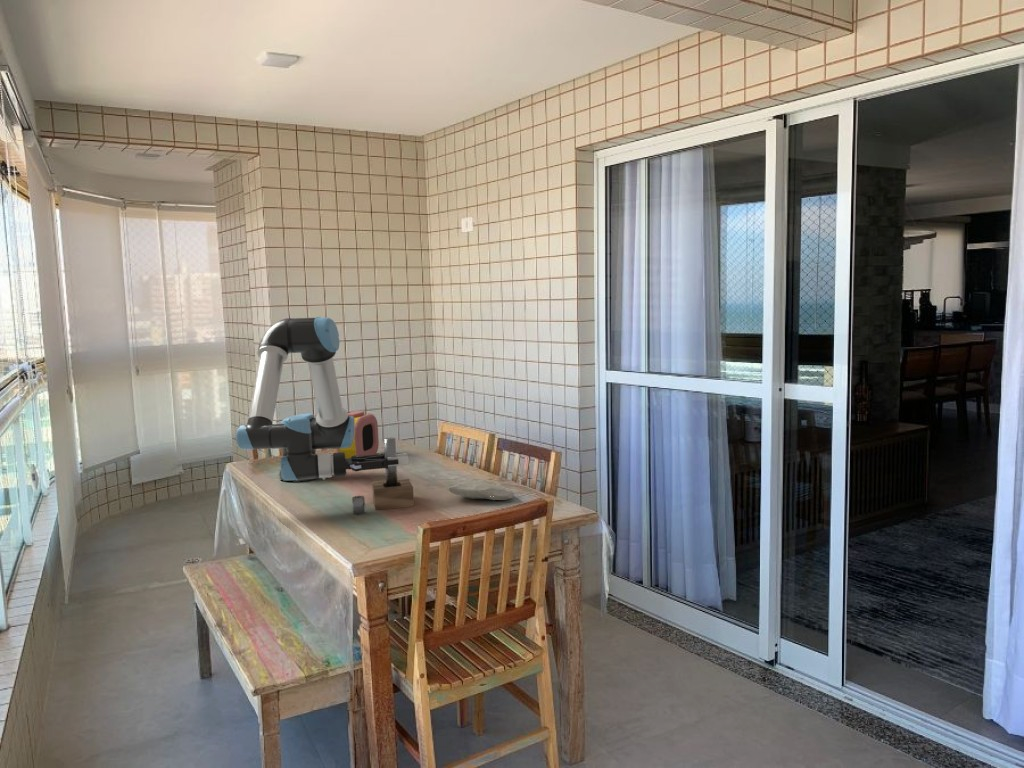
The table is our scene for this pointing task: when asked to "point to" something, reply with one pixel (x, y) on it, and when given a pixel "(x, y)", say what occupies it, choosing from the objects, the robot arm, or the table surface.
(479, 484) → the rock
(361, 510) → the short peg
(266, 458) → the table surface
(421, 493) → the table surface
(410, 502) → the collar block
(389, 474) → the tall peg
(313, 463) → the robot arm
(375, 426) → the alarm clock
